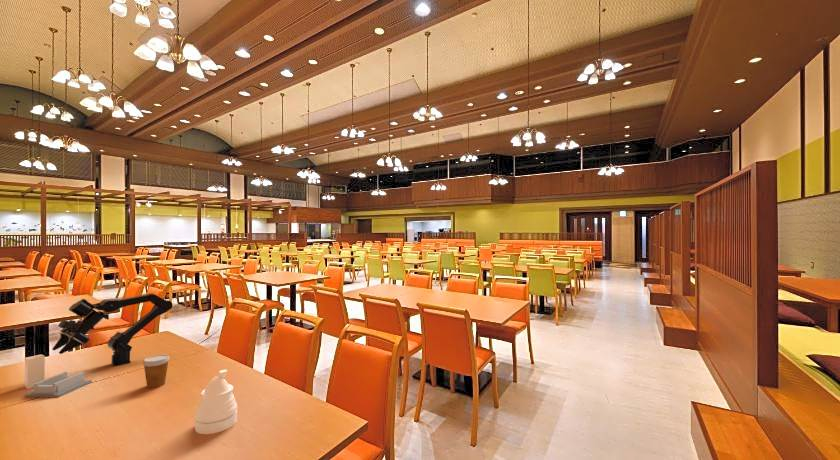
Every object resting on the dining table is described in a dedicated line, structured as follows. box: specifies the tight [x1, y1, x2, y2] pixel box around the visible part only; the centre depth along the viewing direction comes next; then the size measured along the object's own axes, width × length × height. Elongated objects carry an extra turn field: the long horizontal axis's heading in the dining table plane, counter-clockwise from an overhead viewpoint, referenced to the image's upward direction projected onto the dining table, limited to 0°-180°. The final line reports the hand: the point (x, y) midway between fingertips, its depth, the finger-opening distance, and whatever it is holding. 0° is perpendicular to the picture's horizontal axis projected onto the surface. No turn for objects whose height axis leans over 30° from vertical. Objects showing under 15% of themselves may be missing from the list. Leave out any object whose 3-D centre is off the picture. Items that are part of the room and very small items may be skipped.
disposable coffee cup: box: [142, 354, 171, 389], centre depth 152 cm, size 10×10×12 cm
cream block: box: [24, 353, 46, 389], centre depth 151 cm, size 5×4×12 cm
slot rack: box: [24, 371, 93, 398], centre depth 147 cm, size 14×14×5 cm
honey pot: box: [194, 369, 238, 435], centre depth 121 cm, size 13×13×18 cm
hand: (56, 351), depth 156 cm, fingers open, 9 cm apart
